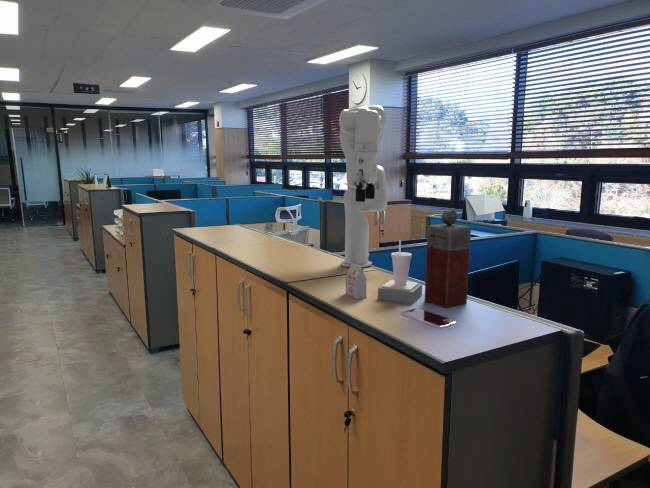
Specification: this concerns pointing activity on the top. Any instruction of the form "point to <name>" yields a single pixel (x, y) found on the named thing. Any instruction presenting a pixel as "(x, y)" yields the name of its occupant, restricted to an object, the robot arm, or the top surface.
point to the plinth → (400, 292)
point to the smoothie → (401, 266)
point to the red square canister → (447, 262)
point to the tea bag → (356, 282)
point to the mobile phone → (429, 318)
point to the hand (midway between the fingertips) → (365, 200)
